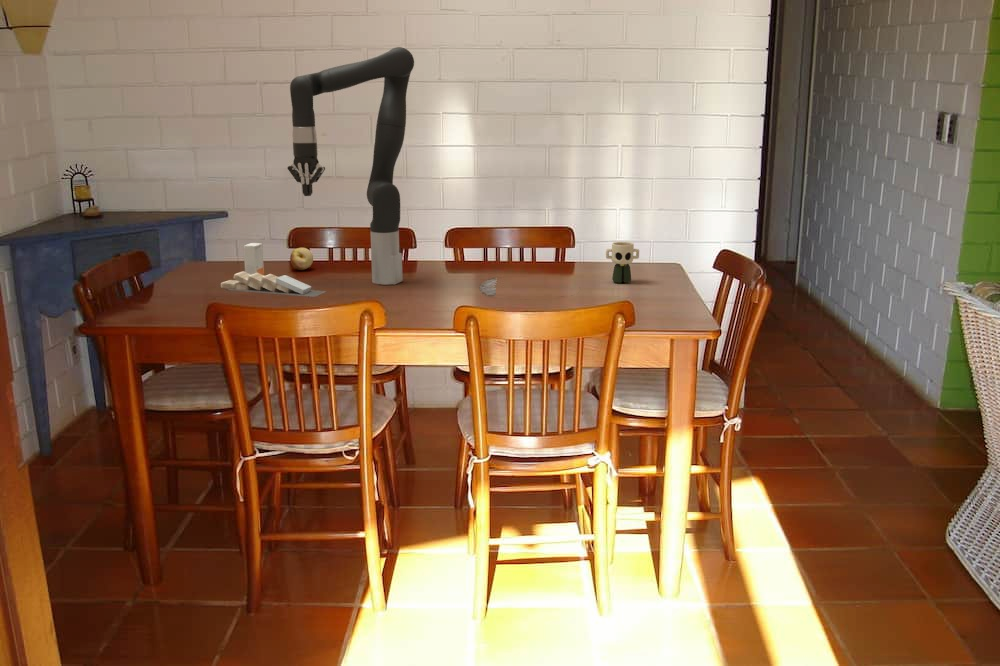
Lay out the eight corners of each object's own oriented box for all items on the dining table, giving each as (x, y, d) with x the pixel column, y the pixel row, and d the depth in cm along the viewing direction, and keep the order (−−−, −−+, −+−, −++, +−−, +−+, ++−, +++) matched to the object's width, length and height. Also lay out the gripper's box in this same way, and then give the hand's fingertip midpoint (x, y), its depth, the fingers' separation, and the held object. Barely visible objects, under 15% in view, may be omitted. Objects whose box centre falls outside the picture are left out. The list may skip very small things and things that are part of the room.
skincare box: (257, 281, 319) (254, 246, 316) (245, 281, 320) (242, 245, 317) (264, 277, 325) (262, 243, 322) (253, 277, 326) (250, 242, 323)
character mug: (606, 284, 314) (607, 245, 310) (604, 280, 320) (605, 241, 317) (639, 284, 313) (640, 245, 310) (636, 280, 320) (638, 241, 317)
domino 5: (311, 286, 303) (284, 274, 305) (303, 289, 298) (276, 277, 300) (310, 291, 303) (283, 279, 305) (302, 294, 299) (275, 282, 301)
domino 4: (297, 285, 304) (270, 273, 306) (288, 288, 300) (262, 276, 302) (296, 290, 305) (269, 278, 307) (287, 293, 300) (260, 281, 302)
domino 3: (283, 284, 306) (257, 272, 308) (275, 287, 301) (248, 275, 303) (282, 288, 306) (256, 277, 308) (273, 292, 302) (247, 280, 304)
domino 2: (269, 283, 307) (243, 271, 310) (260, 286, 303) (234, 274, 305) (268, 287, 308) (242, 275, 310) (259, 290, 303) (233, 278, 306)
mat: (327, 292, 303) (327, 291, 303) (314, 298, 296) (314, 296, 296) (240, 285, 313) (240, 284, 313) (226, 290, 306) (226, 289, 306)
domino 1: (256, 282, 309) (229, 279, 312) (247, 285, 304) (220, 283, 308) (256, 286, 309) (230, 284, 313) (247, 290, 305) (221, 287, 308)
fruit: (286, 271, 335) (285, 248, 333) (300, 267, 343) (298, 245, 341) (305, 273, 332) (303, 250, 330) (318, 268, 340) (317, 246, 338)
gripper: (280, 141, 302) (283, 196, 307) (317, 142, 298) (320, 198, 302) (292, 139, 309) (295, 193, 313) (329, 140, 305) (331, 195, 309)
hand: (307, 195), depth 308 cm, fingers closed
